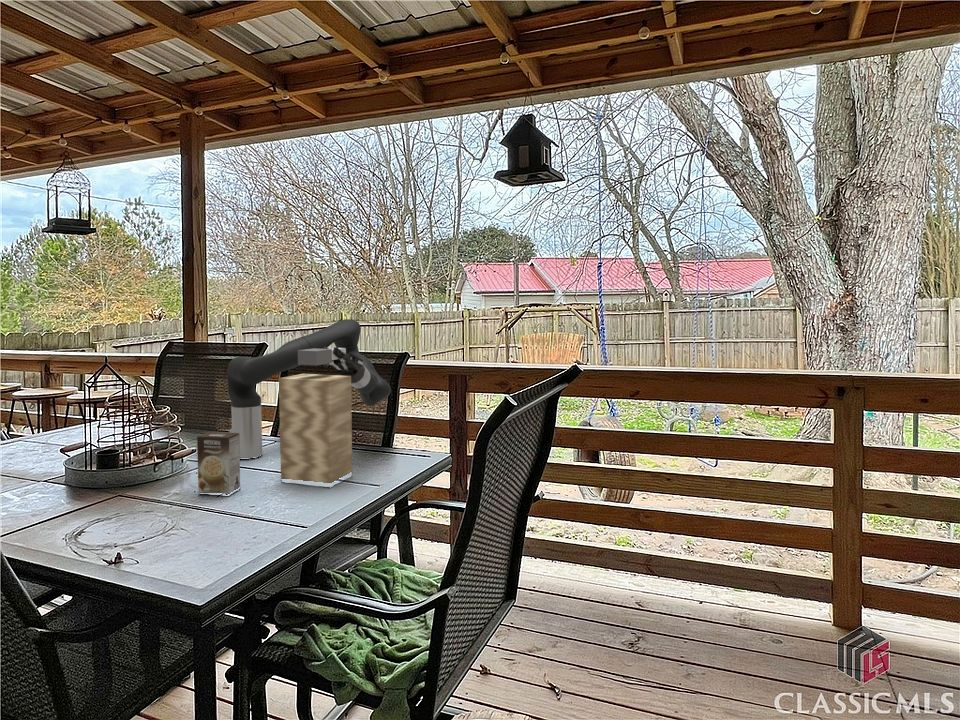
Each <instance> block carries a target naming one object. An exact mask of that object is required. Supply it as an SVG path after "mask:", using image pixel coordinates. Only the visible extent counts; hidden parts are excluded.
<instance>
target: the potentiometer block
mask: <svg viewBox="0 0 960 720" xmlns="http://www.w3.org/2000/svg"><path fill="white" fill-rule="evenodd" d="M333 349H334V347H332V348H328V349H316V348H313V349H305V350H298V365H300V366H320V365H324V364H328V363H332V360H336V359H338V358H337V357H336V356H335V355H334V354H333ZM338 349H340V350H341V351H342V352H345V353H346V348H338Z"/></svg>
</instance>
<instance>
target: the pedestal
mask: <svg viewBox="0 0 960 720" xmlns="http://www.w3.org/2000/svg"><path fill="white" fill-rule="evenodd" d="M278 397H279V398H278V400H279V402H278V405H279V445H280V446H279V447H280V480H281V479H292V480H303V481H314V482H323V483H332V482H334V481H335V480H337V479H339V478H341V477H343V476H345V475H347V474H349V473H350V472H352V473H353V443H352V442H353V439H352V438H353V436H352V435H353V433H352V432H353V431H352V430H353V429H352V423H353V422H352V386H351V376H340V375H339V374H337V375H336V374H335V375H334V374H320V373H319V374H316V373H300V374H295V375H289V376H284V377H279V378H278Z"/></svg>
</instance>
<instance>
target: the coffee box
mask: <svg viewBox="0 0 960 720" xmlns="http://www.w3.org/2000/svg"><path fill="white" fill-rule="evenodd" d="M196 438H197V440H196V441H197V442H196V443H197V447H196V448H197V449H196V450H197V451H196V452H197V479H198V483H197V484H198V493H225V494H230V493H231V492H233V491H234V490H236V489H238V488H239V487H240V488H241V460H240V438H239V433H230V432H229V431H228V432H227V431H226V432H225V431H206V432H204V433H201V434H200V435H197V437H196Z"/></svg>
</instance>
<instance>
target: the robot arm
mask: <svg viewBox="0 0 960 720" xmlns="http://www.w3.org/2000/svg"><path fill="white" fill-rule="evenodd" d="M360 335H361V325H360V322H358V321H357V320H356V319H349V318H348V319H347V318H346V319H341V320H338V321H337V322H334V323H332V324H330V325H328V326H326V327H324V328H322V329H320V330H317V331H315V332H312V333H309V334H305V335H304V336H300V337H297V338H294V339H291V340H289V341H288V342H286V343H284V344H282V345H281V346H280V347H278V349H276V350H275V351H272V352H271V353H270V352H269V353H267V354H264V355H259V356H256V357H255V356H254V357H252V356H251V357H250V356H236V357H234V358H232V359H231V360H230V361H229V363H228V366H227V368H226V369H227V370H226V383H227V392H228V393H227V395H228V398H229V400H230V404H231V405H230V406H231V407H230V408H231V409H230V410H231V428H229V431H228V432H230V433H239V438H240V459H241V458H253V457H257V456H260V455H262V456H263V424H262V421H263V420H262V398H261V397H262V396H260V395H259V394H258V392H257V390H256V388H255V385H258V384H260V383H262V382H264V381H266V380H268V379H270V378H271V377H273V376H276V375H278V374H280V373H282V372H285V371H288V370H289V371H290V370H291V369H294V368H297V367H300V366H301V365H298V350H305V349H313V348H316V349H329V347H330V346H331V345H332V344H334V346H335V347H333V348H334V349H333V354H334V355H335V356H336V357H337V358H338V359H336V360H332V363H328V364H323V366H324V367H328V366H329V365H330V366H332V367H333V368H334V369H336V370H337V373H338V375H340V376H351V387H353V388H354V389H355V390H356V391H357V392H358V393H359V396H360V398H361V400H362V402H363V403H364V405H366V406H368V407H373V406H374V407H375V406H376V405H377V404H378V403H380V402H382V401H383V400H384V399H386V398H387V397H389V396H390V395H391V392H392V389H391V385H390V384H389V383H388V382H387V381H386V380H385V379H384V378H383V377H382V376H381V375H379V374H378V372H377V370H376V369H375V367H374V365H373V363H372V362H371V360H370V359H369V358H368V357H366V356H365V355H364V354H363V355H362V354H361V353H360V351H359V347H358V345H359V340H360ZM338 348H346V353H345V352H342V351H341V350H340V349H338Z"/></svg>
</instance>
